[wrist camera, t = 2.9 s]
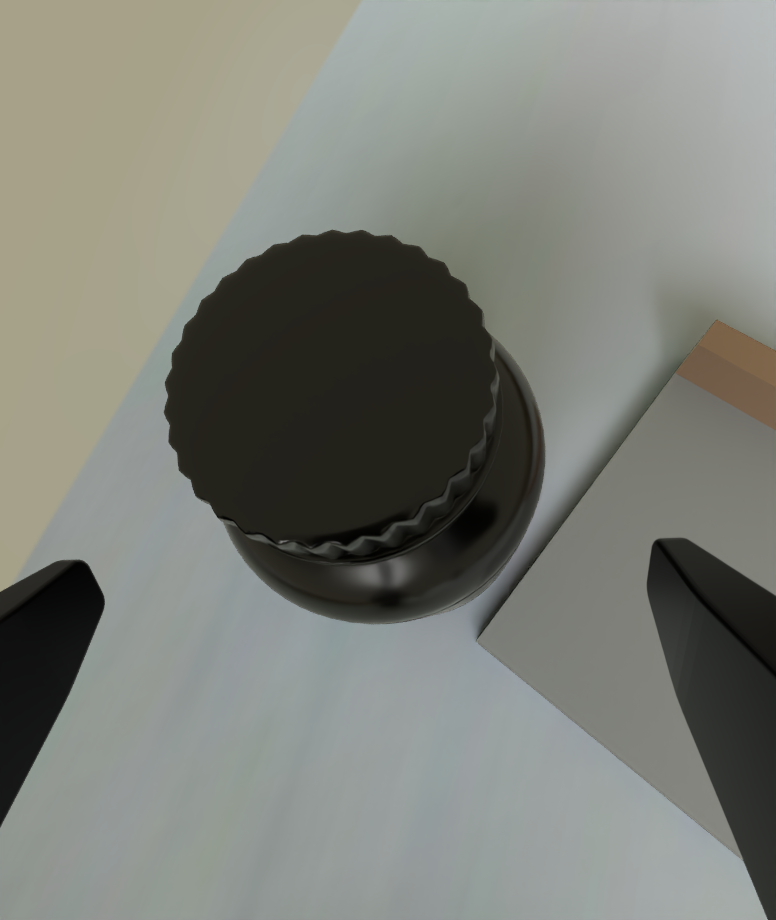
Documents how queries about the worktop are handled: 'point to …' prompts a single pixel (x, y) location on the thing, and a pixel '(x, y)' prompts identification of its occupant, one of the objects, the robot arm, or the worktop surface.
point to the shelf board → (627, 562)
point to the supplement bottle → (357, 428)
